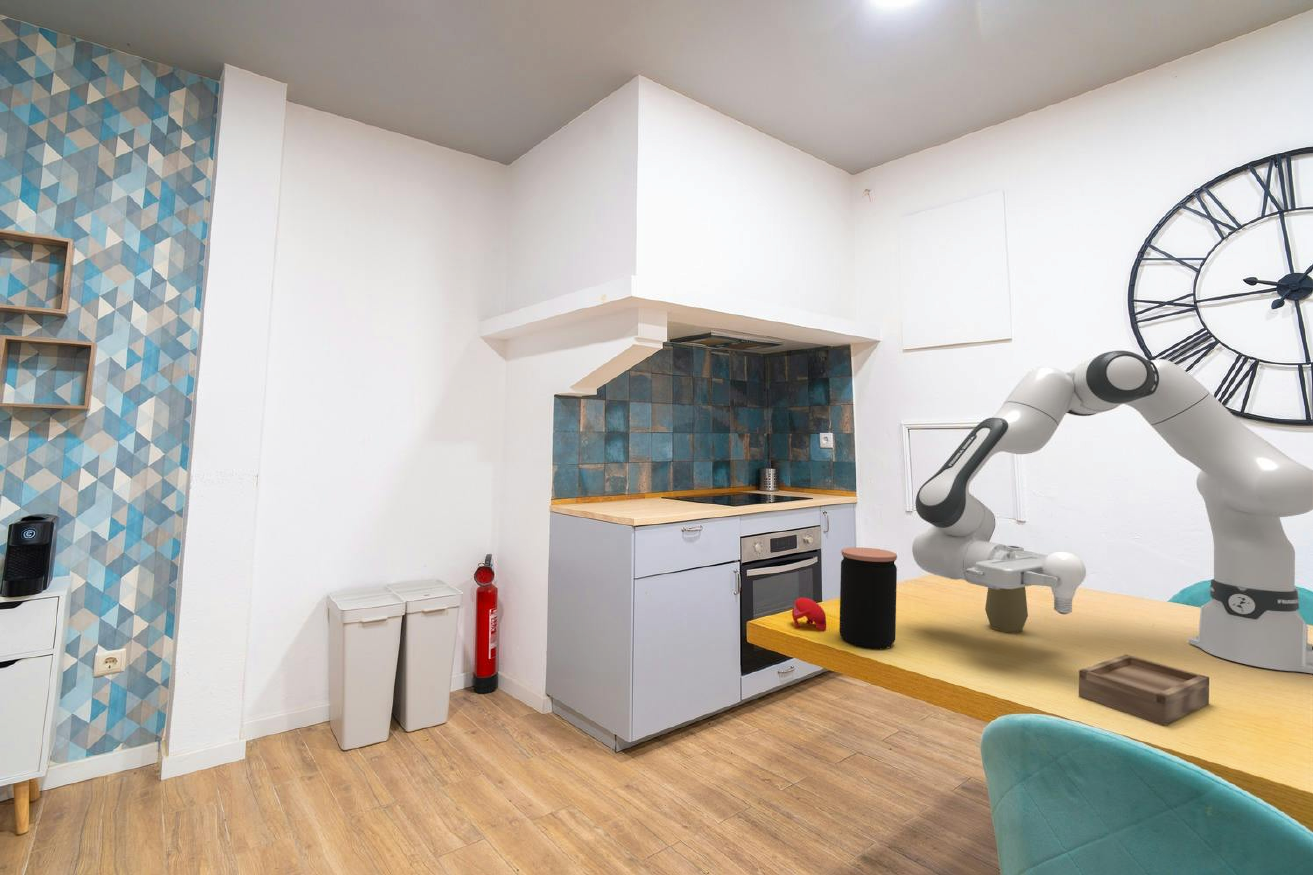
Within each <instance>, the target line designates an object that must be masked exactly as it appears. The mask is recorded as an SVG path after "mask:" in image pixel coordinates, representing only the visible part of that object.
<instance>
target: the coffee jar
mask: <svg viewBox="0 0 1313 875" xmlns="http://www.w3.org/2000/svg"><path fill="white" fill-rule="evenodd" d="M840 550H841V553H840V554H841V556H842V557H843V558H842V560H841V562H840V586H839V588H840V589H839V628H838V629H839V632H838V633H839V635H840V637H841V638H842V641H844V643H846V644H848V645H850V646H853V647H857V648H860V649H861V648H862V649H868V650H886V649H889V648H891V647H892V646H893V644H894V643H895V642H896V634H897V633H896V632H897V631H896V630H897V629H896V628H897V627H896V626H897V625H896V624H897V586H898V585H897V582H898V577H897V576H898V567H897V566H896V564H895V562H896V560H898V555H897V553H896V552H893V551H890V550H886V549H880V548H874V547H873V548H872V547H856V546H855V547H845V548H842V549H840Z"/></svg>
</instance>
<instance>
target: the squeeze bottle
mask: <svg viewBox="0 0 1313 875" xmlns="http://www.w3.org/2000/svg"><path fill="white" fill-rule="evenodd" d="M984 610H985V614H986V616H987V619H988V622H989V626H990V628H992V629H994V630H997V631H1000V632H1004V633H1014V634H1017V633H1021V632H1022V631H1023V629H1024V627H1025V625H1026V622H1027V620H1028V617H1029V610H1028V602H1027V589H1026V587H1021V588H1015V589H1003V588H1001V589H992V588H988V587H987V593H986V600H985V607H984Z"/></svg>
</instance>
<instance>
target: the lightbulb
mask: <svg viewBox="0 0 1313 875" xmlns="http://www.w3.org/2000/svg"><path fill="white" fill-rule="evenodd" d="M1042 571H1043V574H1044V575H1052V576H1057V577H1059V578H1060V586H1058V587H1054V588H1053V587H1050V588H1051V592H1052V595H1053V603H1054V604H1053V610H1055V612H1057V613H1058V614H1060V615H1069V614H1071V613H1072V612H1073V598H1074V597H1075V595H1076V592H1077V589H1078V588H1079V586H1080V585H1082V583H1083V582H1084V580H1085V579H1086V576H1087V569H1086V566H1085V564H1084V561H1082V559H1081V558H1080V557H1078V556H1077V555H1076V554H1074V553H1072V552H1068V551H1054V552H1052V553H1050V554H1048V556H1047V557H1046V558H1045V560H1044V561H1043V565H1042Z"/></svg>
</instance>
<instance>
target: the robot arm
mask: <svg viewBox="0 0 1313 875" xmlns="http://www.w3.org/2000/svg"><path fill="white" fill-rule="evenodd" d="M1121 405H1126V406H1129V407H1131V408H1132V409H1134V410H1135V411H1136V412H1138V413H1139V414H1140V415H1141V416H1142V418H1143V419H1144V420H1145V421H1146V422H1147V423H1148V424H1149V425H1150V426H1151V427H1152V429H1153V430H1155V431H1156V432H1157V434H1158V435H1159V436H1160V437H1161V438H1162V439H1163V440H1164V441H1165V442H1166V443H1167V444H1168V445H1169V446H1170V447H1171V448H1172V449H1173V450H1174V452H1175V453H1176V454H1178V455H1179V456H1180V457H1181V458H1183V459H1185V460H1187V461H1188V462H1190V463H1192V464H1193V465H1194V466H1195V467H1197V468H1198V469H1199V470H1200V472H1199V473H1198V475H1197V478H1196V482H1195V483H1196V488H1197V490H1198V492H1199V494H1200V495H1201V497H1202V498H1203V500H1204V504H1205V509H1206V513H1207V517H1208V521H1209V523H1210V529H1211V532H1212V539H1213V578H1212V579H1210V585H1209V592H1210V593H1209V594H1210V595H1209V596H1210V598H1211V599H1210V600H1209V601H1208V602H1206V603H1204V604H1203V605H1201V607H1200V611H1199V621H1198V622H1199V625H1198V632H1197V633H1198V634H1197V635H1198V636H1195V637H1192V636H1191V637H1189V638H1188V644H1190V645H1193V646H1195V647H1197V648H1200V649H1201V650H1203V651H1205V652H1206V653H1208V654H1210V655H1213V656H1216V657H1218V658H1220V659H1224V660H1228V661H1232V662H1235V663H1239V664H1244V665H1247V666H1254V667H1258V668H1262V669H1270V670H1277V671H1287V672H1300V673H1305V674H1306V673H1308V674H1313V644H1312V643H1309V628H1308V626H1307V623H1306V621H1305V620H1304V619H1303V617H1302V616H1301V614H1300V613H1299V611H1298V610H1299V609H1300V597H1299V591H1298V588H1295V586H1296V585H1295V577H1296V575H1295V574H1296V571H1295V570H1296V551H1295V547H1294V546H1293V543H1292V542H1291V541H1290V540H1289V539H1288V537H1287V535H1286V533H1285V530H1284V527H1283V524H1282V521H1281V518H1286V517H1287V518H1288V517H1294V516H1300V515H1303V514H1306V513H1309V512H1311V511H1312V510H1313V469H1311V468H1309V467H1307V466H1306V465H1304V464H1302V463H1300V462H1297V461H1296V460H1293V458H1291V457H1289V456H1288V455H1286V454H1285V453H1283V452H1282V451H1281V450H1280V449H1279V448H1277V447H1276V446H1274V445H1273V444H1272V443H1270V442H1269V441H1267V440H1265V439H1264V438H1262V437H1261V436H1260V435H1258V434H1256V433H1255V432H1254V431H1253V430H1251V429H1250V428H1248V427H1247V426H1246V425H1245V424H1243V423H1242V422H1241V421H1239V420H1238V419H1237V417H1235V415H1233V414H1232V412H1231V411H1229V410H1228V409H1227V408H1226V407H1225V406H1224V405H1223V403H1222V402H1220V401H1219V400H1218V399H1217V398H1216V396H1214V395H1213V394H1212V393H1211V391H1209V390H1208V389H1207V388H1206V387H1205V386H1204V385H1203V384H1202V383H1201V382H1200V381H1198V380H1197V379H1196V378H1195V377H1193V375H1191V374H1189V373H1188V372H1187V371H1186V370H1184V369H1183V368H1182V367H1180V366H1178V365H1177V364H1175V363H1174V362H1172V361H1170V360H1169V359H1162V358H1160V359H1159V358H1157V359H1152V360H1150V359H1146V358H1145V357H1143V356H1142V355H1140V354H1137V353H1135V352H1133V351H1128V350H1112V351H1106V352H1104V353H1101V354H1099V355H1098V356H1095V357H1093V358H1090V359H1088V360H1085V361H1084V362H1082V363H1080V364H1078V365H1077V366H1076V367H1074V368H1072V369H1071V370H1069V371H1066V372H1065V371H1063V370H1061V369H1058V368H1055V367H1051V366H1040V367H1036V368H1034V369H1032V370H1030V371H1029V372H1027V374H1026V375H1025V376H1024V377H1023V378H1021V380H1020V381H1018V383H1017V384H1016V386H1015V387H1014V388H1013V389H1012V391H1011V392H1010V393H1009V395H1008V396H1007V398H1006V399H1005V401H1004V402H1003V404H1002V405H1001V407H1000V408H999V410H998V411H996V413H995V414H994V415H993V416H992V417H988V418H985V419H983V420H982V421H981V422H979V423H978V424H977V425H976V426H975V427H974V428H973V429H972V430H971V431H970V432H969V434H968V435H967V436H966V437H965V438H964V440H963V441H962V442H961V443H960V444H959V446H958V447H957V448H956V449H955V451H954V452H953V453H952V454H951V455H950V457H948V458H947V460H946V462H945V463H944V464H943V465H942V466H941V468H939V470H938V471H937V472H936V473H935V474H933V475H932V476H931V477H930V478H929V479H928V480H927V481H925V482H924V483H923V484H922V485H921V486H920V488H919V490H918V491H917V494H916V497H915V505H914V506H915V510H916V513H917V514H918V516H919V517H920V519H922V520H924V521H926V522H927V523H928V524H930V525H932V526H931V527H930V528H929V529H928V530H927V531H925V532H923V533H921V534H918V535H916V536H915V538H914V539H913V542H912V545H911V546H912V548H911V549H912V551H911V552H912V557H913V559H914V561H915V563H916V565H918V567H919V568H920V569H921V570H923V571H925V572H927V573H929V574H932V575H935V576H939V577H943V578H946V579H950V580H953V581H954V580H963V581H965V582H967V583H969V584H972V585H976V586H978V587H979V586H980V587H984V588H987V589H988V588H992V589H1001V588H1003V589H1015V588H1021V587H1025V588H1026V587H1030V586H1041V587H1043V586H1044V587H1050V588H1051V587H1053V588H1054V587H1058V586H1060V578H1059V577H1057V576H1052V575H1044V574H1043V571H1042V565H1043V561H1044V560H1045V558H1046V557H1047V556H1048V555H1049V554H1048V555H1047V554H1043V553H1039V552H1033V551H1027V550H1024V547H1023V546H1016V545H1006V544H1003V543H998V542H991V541H990V540H991V539H992V537H993V534H994V532H995V529H996V518H995V517H996V516H995V514H994V513H993V512H992V511H991V509H990V508H988V506H986V505H985V504H984V503H983V502H981V500H979V499H978V498H977V497H975V496H974V495H973V494H971V493H970V491H969V489H970V484H971V482H972V481H973V480H974V479H975V477H976V476H977V475H978V473H980V471H981V470H982V469H983V467H984V466H985V465H986V463H987V462H988V461H989V460H990V458H992V457H993V456H995V455H996V454H998V453H1001V452H1005V453H1008V454H1013V455H1015V454H1016V455H1028V454H1032V453H1035V452H1038V451H1040V450H1042V448H1044V446H1046V445H1047V444H1048V443H1049V441H1050V440H1051V438H1052V437H1053V435H1054V434H1055V432H1056V430H1057V429H1058V427H1059V426H1060V424H1061V422H1062V421H1063V418H1064V417H1065V416H1066V414H1069V415H1072V416H1078V417H1089V416H1090V417H1091V416H1095V415H1097V414H1101V413H1106V412H1108V411H1112V410H1114V409H1117V408H1118V407H1120V406H1121Z"/></svg>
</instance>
